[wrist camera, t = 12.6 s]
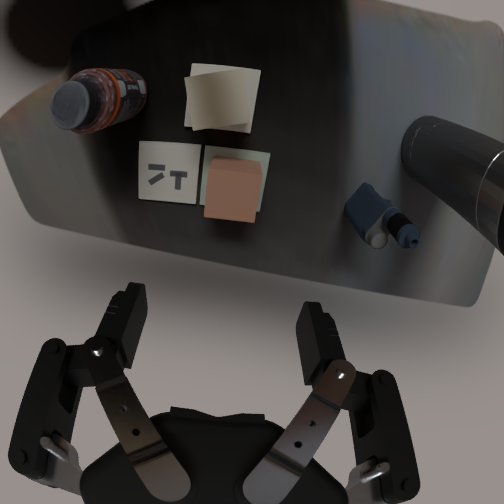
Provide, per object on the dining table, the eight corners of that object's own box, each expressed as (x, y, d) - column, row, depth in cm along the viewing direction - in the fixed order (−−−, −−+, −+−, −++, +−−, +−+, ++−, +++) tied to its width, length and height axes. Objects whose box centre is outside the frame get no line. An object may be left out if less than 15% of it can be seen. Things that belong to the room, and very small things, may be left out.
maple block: (243, 71, 24) (243, 68, 20) (248, 117, 27) (249, 122, 22) (194, 79, 24) (184, 77, 20) (200, 123, 27) (192, 130, 23)
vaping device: (379, 189, 32) (429, 240, 22) (352, 220, 34) (392, 279, 24) (366, 177, 31) (416, 225, 21) (339, 209, 33) (376, 268, 23)
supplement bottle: (154, 71, 23) (107, 67, 14) (143, 123, 27) (96, 146, 17) (106, 68, 22) (45, 70, 13) (97, 118, 26) (39, 140, 16)
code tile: (201, 144, 28) (200, 145, 28) (195, 202, 32) (195, 204, 32) (140, 140, 28) (139, 141, 27) (139, 197, 31) (138, 198, 31)
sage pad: (270, 153, 29) (270, 154, 29) (259, 210, 33) (259, 211, 33) (205, 145, 28) (205, 145, 28) (200, 203, 32) (199, 204, 32)
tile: (260, 70, 24) (260, 70, 24) (250, 132, 28) (250, 133, 28) (192, 63, 23) (192, 63, 23) (184, 125, 27) (184, 126, 27)
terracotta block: (259, 161, 29) (262, 175, 25) (252, 202, 32) (254, 222, 28) (213, 155, 29) (208, 168, 25) (209, 197, 31) (203, 216, 27)
